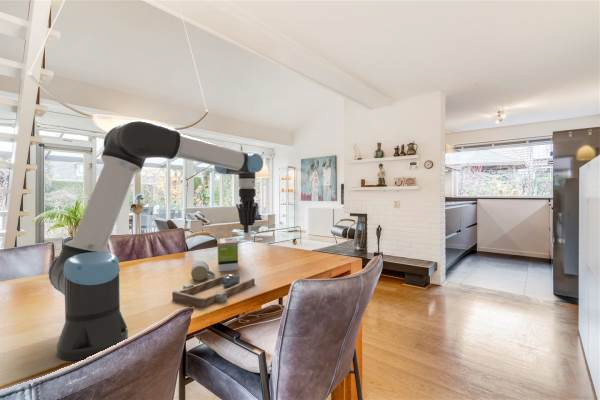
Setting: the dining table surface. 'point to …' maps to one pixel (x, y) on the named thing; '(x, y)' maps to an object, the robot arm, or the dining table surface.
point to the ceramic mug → (201, 271)
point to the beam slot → (220, 297)
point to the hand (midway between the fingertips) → (247, 239)
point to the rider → (231, 280)
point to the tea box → (227, 254)
